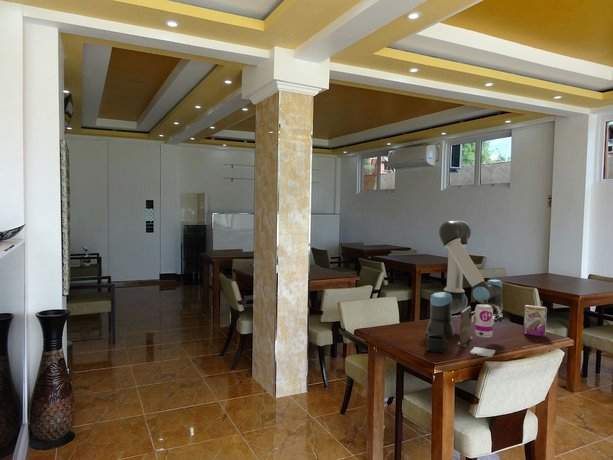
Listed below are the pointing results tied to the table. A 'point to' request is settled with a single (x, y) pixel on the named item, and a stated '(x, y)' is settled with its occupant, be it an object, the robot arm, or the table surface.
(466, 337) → the screen
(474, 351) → the tile
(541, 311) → the candy bar box
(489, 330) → the supplement can
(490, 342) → the table surface
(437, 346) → the mug
